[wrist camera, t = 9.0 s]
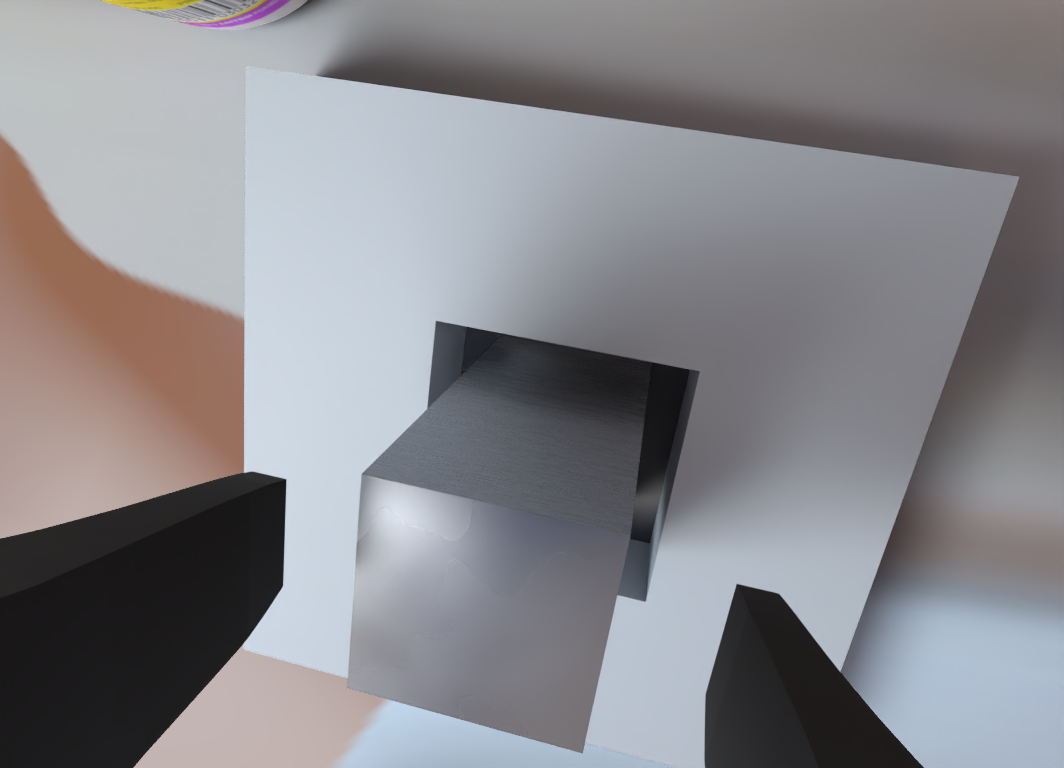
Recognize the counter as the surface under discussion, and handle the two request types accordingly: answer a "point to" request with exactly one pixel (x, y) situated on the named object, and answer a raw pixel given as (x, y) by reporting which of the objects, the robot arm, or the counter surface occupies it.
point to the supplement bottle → (215, 11)
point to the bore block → (604, 345)
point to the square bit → (501, 541)
